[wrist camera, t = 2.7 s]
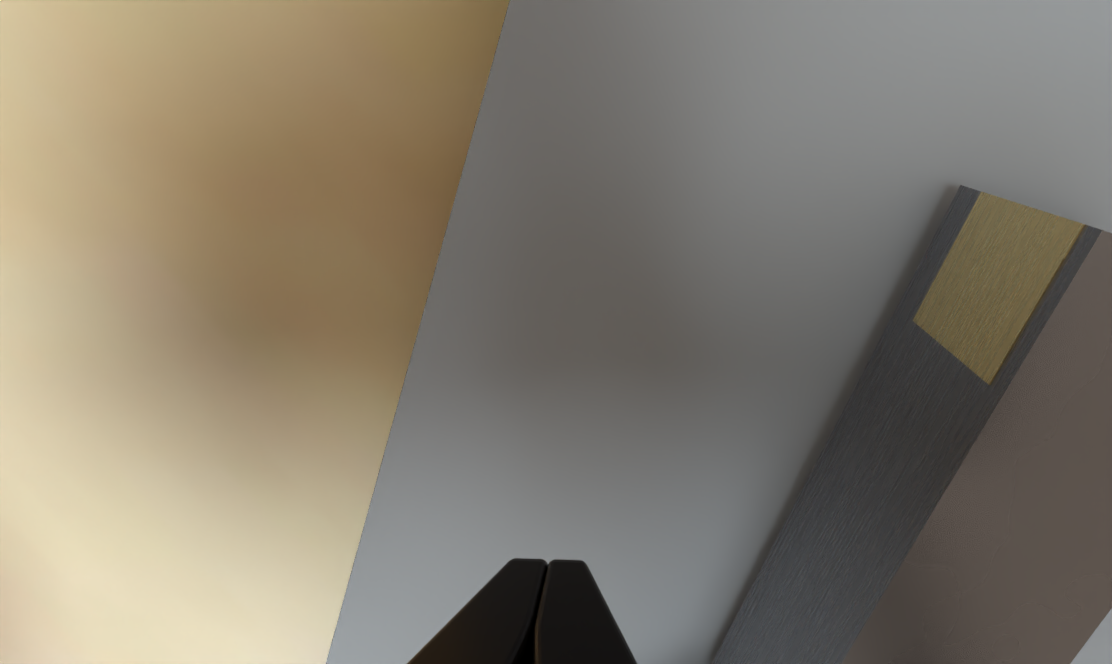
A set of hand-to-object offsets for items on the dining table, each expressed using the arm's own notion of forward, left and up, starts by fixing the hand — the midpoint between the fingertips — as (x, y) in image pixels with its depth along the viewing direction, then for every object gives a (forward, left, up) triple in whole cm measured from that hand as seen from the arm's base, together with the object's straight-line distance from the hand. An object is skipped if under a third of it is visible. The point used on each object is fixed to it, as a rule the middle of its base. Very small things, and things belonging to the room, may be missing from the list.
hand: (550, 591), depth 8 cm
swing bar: (-5, +1, -5) cm, 7 cm away
